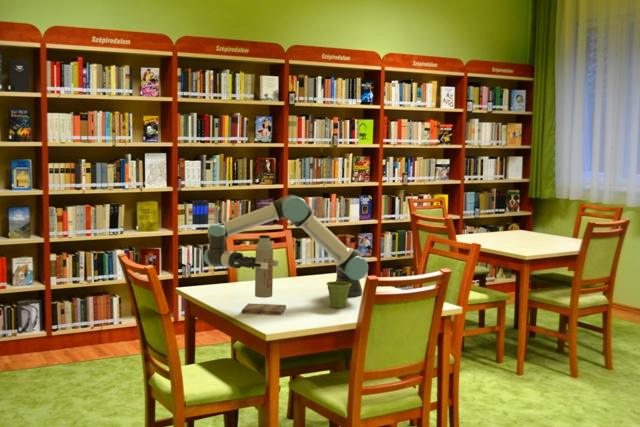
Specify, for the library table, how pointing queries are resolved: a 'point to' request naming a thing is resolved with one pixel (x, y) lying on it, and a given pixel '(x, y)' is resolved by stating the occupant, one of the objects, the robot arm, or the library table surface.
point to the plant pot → (338, 293)
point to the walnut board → (264, 309)
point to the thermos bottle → (264, 275)
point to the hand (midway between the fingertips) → (272, 264)
